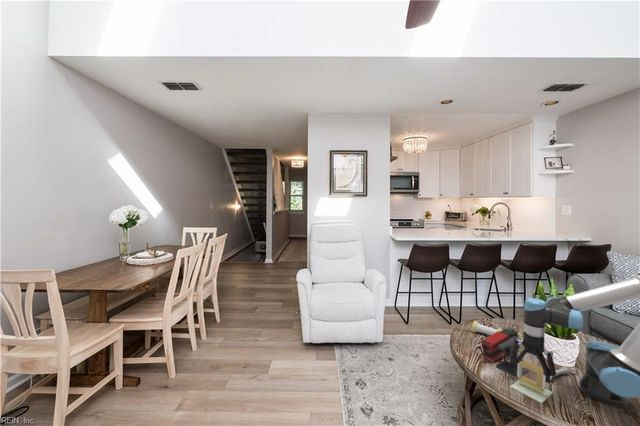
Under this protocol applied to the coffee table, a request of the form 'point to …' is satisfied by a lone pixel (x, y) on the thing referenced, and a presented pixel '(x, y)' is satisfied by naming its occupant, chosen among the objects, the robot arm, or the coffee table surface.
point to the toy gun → (494, 340)
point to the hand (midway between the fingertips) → (531, 381)
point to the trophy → (490, 330)
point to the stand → (510, 366)
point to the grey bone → (561, 372)
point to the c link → (540, 373)
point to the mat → (531, 392)
